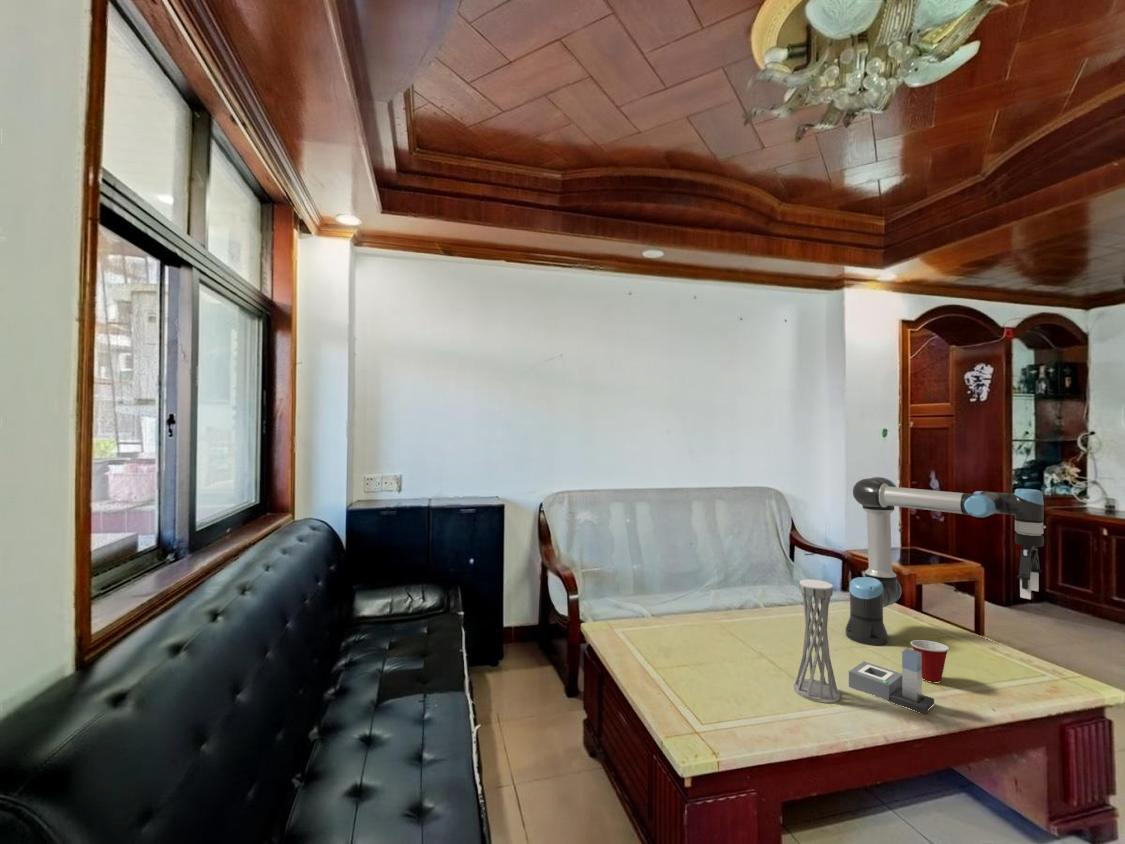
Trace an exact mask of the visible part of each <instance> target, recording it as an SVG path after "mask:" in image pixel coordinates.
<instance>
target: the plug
mask: <svg viewBox="0 0 1125 844" xmlns="http://www.w3.org/2000/svg"><path fill="white" fill-rule="evenodd" d="M901 658H902V659H901V660H902V661H901V667H902V668H901V670H902V671H901V672H902V673H901V674H902V698H904V699H907V700H910V701H913V702H915V703H918V704H919V703H920V702H922V695H923V692H922V691H923V684H922V683H923V680H922V653H921V652H918V651H914V649H910V648H905V649H904V650H902V651H901Z"/></svg>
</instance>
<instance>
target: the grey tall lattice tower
mask: <svg viewBox="0 0 1125 844" xmlns="http://www.w3.org/2000/svg"><path fill="white" fill-rule="evenodd" d="M833 586H834V585H833V584H832V583H830V582H827V581H824V580H818V579H809V578H808V579H802V580H801V579H800V581H799V592H800V593H801V595H802V601H803V611H804V612H803V613H804V622H805V623H804V624H805V628H804V629H805V630H804V638H803V639H804V640H803V649H802V657H801V660H800V664H799V669H798V671H797V676H796V677H797V678H796V681H795V682H794V684H793V690H794V691H795V693H796V694H797V695H799V696H800V697H802V698H804V699H807V700H808V701H809V700H810V701H812V702H818V703H826V704H829V703H831V704H833V703H835V702H838V701H839V700H840V696H841V694H840V690H839V689H838V687H837V682H836V679H835V674H834V670H833V666H832V662H831V656H830V647H829V638H828V621H829V608H830V607H829V606H830V601H831V597H833V594H834V593H833ZM812 601H813V602H814V607H813V603H812ZM819 605H820V607H819ZM816 616H817V617H816ZM820 649H821V656H820ZM813 650H814V651H815V652H814V653H815V654H814V657H813V656H812V653H813ZM812 657H813V658H812ZM817 664H818V669H819V673H820V680H819V679H815V678H814V677H815V673H816V668H817ZM808 666H809V667H808ZM808 668H809V676H810V677H809V678H805V677H806V674H807V670H808ZM825 668H826V672H827V681H826V677H825Z"/></svg>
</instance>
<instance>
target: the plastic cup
mask: <svg viewBox="0 0 1125 844" xmlns="http://www.w3.org/2000/svg"><path fill="white" fill-rule="evenodd" d="M910 645H911V646H912V650H914V651H918V652H921V653H922V678H923V679H925V680H927V681H931V682H939V681H941V682H942V678H943V674H944V671H945V669H944V668H945V663H946V659H947V654H948V651H949V650H950V649H949V648H950V647H949V646H948V645H946V644H944V643H940V642H937V641H933V640H932V641H931V640H925V639H923V640H922V639H915V640H912V641H910Z"/></svg>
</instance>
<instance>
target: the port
mask: <svg viewBox="0 0 1125 844" xmlns="http://www.w3.org/2000/svg"><path fill="white" fill-rule="evenodd" d="M848 687H849V688H852V689H854V690H857V691H860V692H862V691H863V693H865V692H866V693H865V694H868V693H869V694H868V695H870V694H872V695H871V696H873V695H875V696H874V697H876V696H877V697H876V698H879V697H881V698H883V699H882V700H884V699H886V700H885V701H887V700H890V696H891V695H892V694H894V693H895V692H896V691H897V690H898V689H900V688H901V687H902V673H901V672H898V671H895V670H891V669H888V668H885V667H882V666H880V665H876V664H873V663H870V662H867V661H862V662H860V663H859V664H857V665H856V666H854V667H853V668H851V669H850V670H849V671H848ZM881 698H880V699H881Z"/></svg>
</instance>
